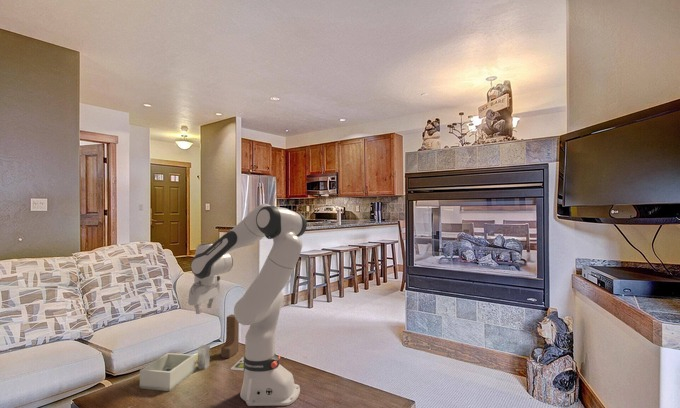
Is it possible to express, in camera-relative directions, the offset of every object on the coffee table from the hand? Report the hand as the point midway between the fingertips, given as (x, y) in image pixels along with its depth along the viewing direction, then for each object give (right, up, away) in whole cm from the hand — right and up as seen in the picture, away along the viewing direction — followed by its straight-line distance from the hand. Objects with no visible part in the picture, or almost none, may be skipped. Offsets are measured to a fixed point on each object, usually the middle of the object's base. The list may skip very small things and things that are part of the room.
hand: (204, 310), depth 156 cm
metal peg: (0, -25, -1) cm, 25 cm away
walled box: (-10, -25, -12) cm, 29 cm away
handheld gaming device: (+18, -26, +4) cm, 32 cm away
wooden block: (+7, -26, +13) cm, 30 cm away
